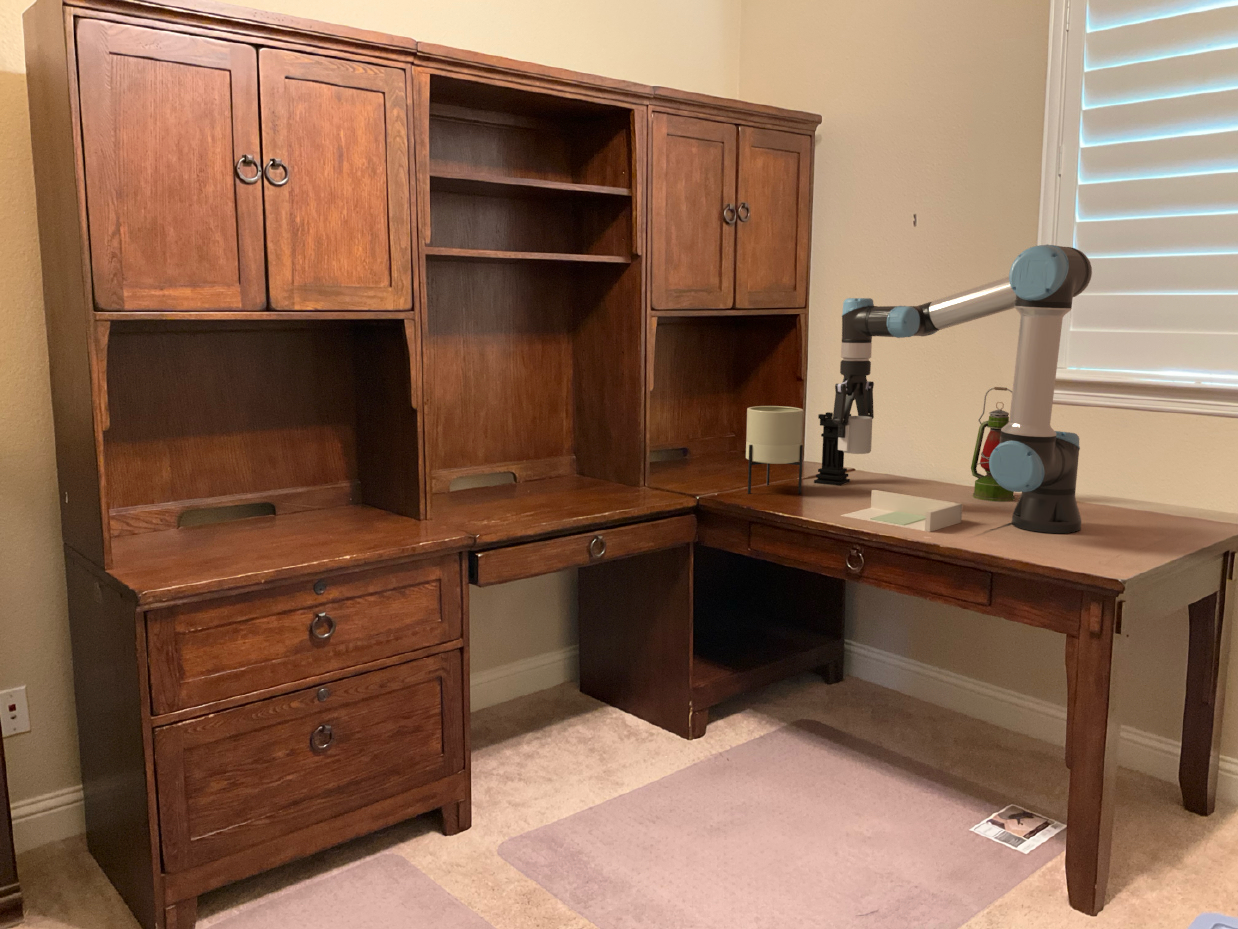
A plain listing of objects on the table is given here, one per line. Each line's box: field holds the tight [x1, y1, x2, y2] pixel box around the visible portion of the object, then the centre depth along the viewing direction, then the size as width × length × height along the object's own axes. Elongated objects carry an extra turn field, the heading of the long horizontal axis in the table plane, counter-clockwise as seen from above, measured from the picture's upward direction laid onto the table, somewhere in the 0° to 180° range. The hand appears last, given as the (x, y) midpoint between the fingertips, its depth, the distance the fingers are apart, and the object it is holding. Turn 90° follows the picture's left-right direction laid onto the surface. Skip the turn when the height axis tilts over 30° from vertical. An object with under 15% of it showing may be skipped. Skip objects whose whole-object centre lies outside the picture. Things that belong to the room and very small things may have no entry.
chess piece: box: [813, 412, 852, 487], centre depth 297 cm, size 8×8×20 cm
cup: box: [843, 415, 873, 455], centre depth 262 cm, size 7×10×9 cm
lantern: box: [970, 386, 1015, 503], centre depth 275 cm, size 14×11×30 cm
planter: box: [745, 405, 804, 495], centre depth 282 cm, size 15×16×23 cm
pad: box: [870, 511, 926, 525], centre depth 247 cm, size 9×12×1 cm
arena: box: [840, 489, 963, 533], centre depth 247 cm, size 24×15×5 cm, turn 44°
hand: (852, 448), depth 263 cm, fingers closed on cup, 7 cm apart
